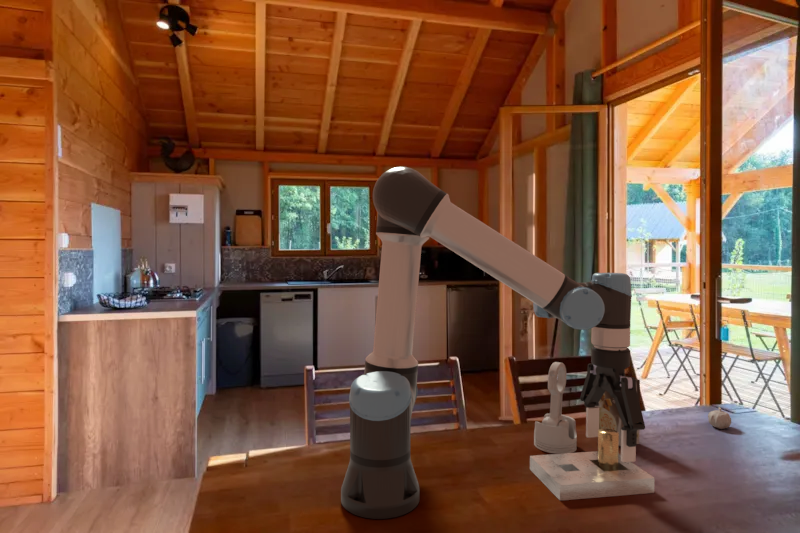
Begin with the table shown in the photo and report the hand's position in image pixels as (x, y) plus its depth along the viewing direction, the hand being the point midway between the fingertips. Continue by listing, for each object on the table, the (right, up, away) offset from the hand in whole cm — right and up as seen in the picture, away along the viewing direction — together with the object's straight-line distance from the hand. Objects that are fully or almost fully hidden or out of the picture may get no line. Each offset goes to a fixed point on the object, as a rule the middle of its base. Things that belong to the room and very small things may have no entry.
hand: (609, 448), depth 105 cm
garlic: (+43, -6, +31) cm, 54 cm away
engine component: (-5, -6, +19) cm, 20 cm away
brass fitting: (0, -7, 0) cm, 7 cm away
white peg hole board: (-4, -7, -1) cm, 8 cm away
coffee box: (+11, -6, +22) cm, 26 cm away
